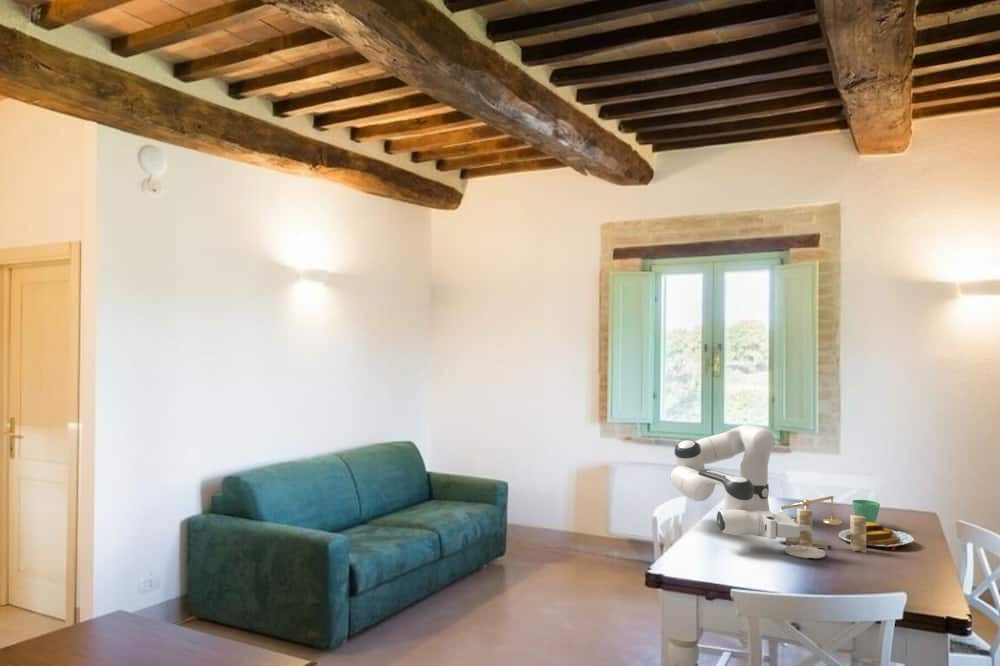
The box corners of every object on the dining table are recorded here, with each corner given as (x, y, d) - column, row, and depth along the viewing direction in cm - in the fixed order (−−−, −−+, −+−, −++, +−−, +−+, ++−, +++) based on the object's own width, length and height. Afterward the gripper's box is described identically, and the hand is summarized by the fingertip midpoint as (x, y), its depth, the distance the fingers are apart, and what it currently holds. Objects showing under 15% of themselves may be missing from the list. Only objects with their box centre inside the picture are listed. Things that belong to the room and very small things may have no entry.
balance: (771, 543, 262) (771, 492, 263) (772, 538, 269) (772, 489, 269) (842, 551, 253) (842, 498, 254) (841, 546, 259) (841, 495, 260)
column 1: (799, 545, 246) (799, 510, 247) (796, 542, 250) (797, 508, 250) (812, 546, 246) (812, 511, 246) (808, 543, 249) (809, 508, 250)
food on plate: (912, 556, 249) (911, 537, 249) (834, 545, 263) (833, 527, 263) (915, 540, 271) (915, 522, 271) (843, 530, 284) (843, 514, 284)
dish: (776, 552, 250) (776, 548, 250) (800, 547, 257) (800, 543, 257) (809, 562, 239) (809, 557, 239) (833, 557, 246) (833, 552, 246)
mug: (880, 531, 283) (879, 505, 283) (852, 528, 287) (852, 503, 287) (879, 523, 296) (879, 499, 296) (852, 520, 300) (852, 496, 301)
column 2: (854, 551, 253) (854, 517, 253) (850, 548, 256) (850, 515, 257) (866, 552, 252) (866, 518, 252) (862, 549, 256) (862, 515, 256)
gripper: (759, 525, 260) (799, 527, 258) (771, 540, 240) (815, 542, 238) (759, 508, 260) (799, 510, 258) (772, 521, 240) (815, 523, 238)
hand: (807, 525), depth 248 cm, fingers closed on column 1, 4 cm apart
